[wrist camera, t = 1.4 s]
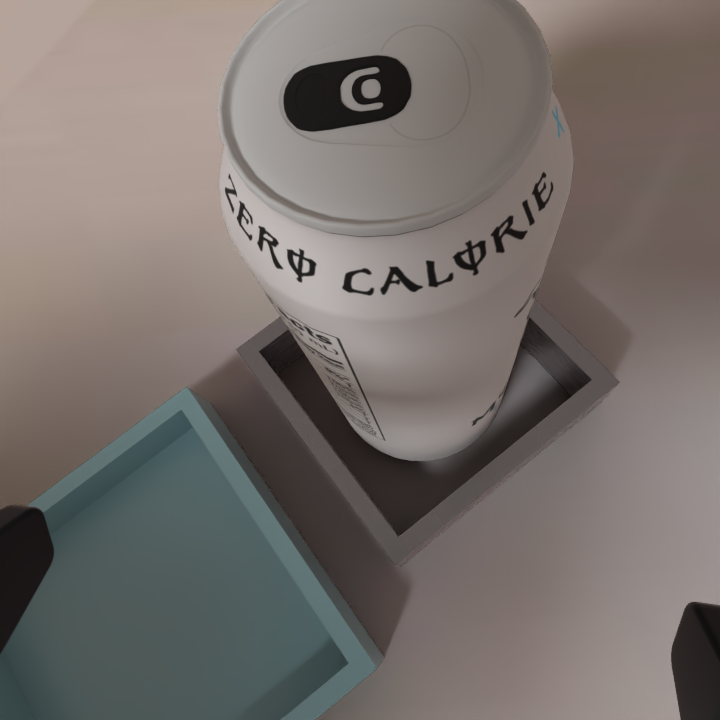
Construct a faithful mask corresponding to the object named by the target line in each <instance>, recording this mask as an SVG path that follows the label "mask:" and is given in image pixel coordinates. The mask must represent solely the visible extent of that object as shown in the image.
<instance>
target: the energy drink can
mask: <svg viewBox="0 0 720 720" xmlns="http://www.w3.org/2000/svg"><path fill="white" fill-rule="evenodd" d="M552 85H553V77H552V68H551V59H550V54H549V51H548V49H547V46H546V43H545V41H544V38H543V36H542V33H541V31H540V29H539V28H538V26H537V25H536V23H535V22H534V20H533V19H532V18H531V16H530V15H529V13H528V12H527V11H526V9H525V8H524V7H523V6H522V5H521V4H520V3H519V2H517V1H516V0H281V1H279V2H278V3H277V4H276V5H274V6H273V7H272V8H271V9H269V10H268V11H267V12H266V13H265V14H263V15H262V16H261V17H260V18H259V19H258V21H257V22H256V23H255V24H254V25H253V26H252V27H251V29H250V30H249V31H248V32H247V33H246V34H245V35H244V36H243V38H242V40H241V41H240V43H239V45H238V46H237V48H236V50H235V51H234V53H233V55H232V56H231V58H230V59H229V62H228V65H227V68H226V71H225V73H224V76H223V79H222V82H221V85H220V93H219V101H218V109H217V112H218V121H219V130H220V136H221V139H222V142H223V144H224V149H223V153H222V161H221V169H220V178H219V193H220V202H221V211H222V216H223V219H224V221H225V224H226V227H227V230H228V233H229V235H230V238H231V241H232V243H233V244H234V246H235V247H236V249H237V250H238V252H239V253H240V255H241V256H242V258H243V260H244V261H245V263H246V264H247V266H248V267H249V269H250V270H251V272H252V273H253V275H254V276H255V278H256V280H257V281H258V283H259V284H260V286H261V287H262V289H263V290H264V292H265V293H266V295H267V297H268V298H269V300H270V301H271V303H272V304H273V306H274V307H275V309H276V310H277V312H278V313H279V315H280V317H281V318H282V320H283V321H284V323H285V324H286V326H287V327H288V329H289V330H290V332H291V333H292V335H293V337H294V338H295V340H296V341H297V343H298V344H299V346H300V347H301V349H302V350H303V352H304V354H305V355H306V357H307V358H308V360H309V361H310V363H311V364H312V366H313V367H314V369H315V370H316V372H317V374H318V375H319V377H320V378H321V380H322V381H323V383H324V384H325V386H326V387H327V389H328V391H329V392H330V394H331V395H332V397H333V398H334V400H335V401H336V403H337V404H338V406H339V407H340V409H341V411H342V412H343V414H344V415H345V417H346V418H347V420H348V421H349V423H350V424H351V426H352V427H353V429H354V430H355V432H356V433H357V434H358V435H359V436H360V437H361V438H362V439H363V440H364V441H365V442H366V443H368V444H369V445H371V446H372V447H374V448H375V449H377V450H378V451H380V452H382V453H385V454H387V455H390V456H392V457H395V458H399V459H404V460H409V461H431V460H436V459H441V458H446V457H448V456H451V455H453V454H455V453H458V452H460V451H462V450H464V449H465V448H467V447H468V446H470V445H471V444H472V443H474V442H475V441H476V440H477V439H478V438H479V437H480V436H481V435H482V434H483V433H484V432H485V431H486V430H487V429H488V427H489V426H490V424H491V423H492V421H493V420H494V418H495V416H496V414H497V412H498V409H499V406H500V404H501V401H502V398H503V395H504V392H505V389H506V386H507V383H508V380H509V377H510V374H511V371H512V368H513V365H514V362H515V359H516V355H517V352H518V349H519V346H520V343H521V340H522V337H523V334H524V331H525V328H526V325H527V322H528V319H529V316H530V313H531V310H532V307H533V304H534V301H535V298H536V295H537V292H538V289H539V286H540V283H541V280H542V277H543V274H544V271H545V268H546V264H547V261H548V258H549V255H550V252H551V249H552V246H553V243H554V240H555V237H556V234H557V231H558V228H559V225H560V222H561V219H562V216H563V213H564V210H565V207H566V204H567V201H568V198H569V195H570V190H571V182H572V174H573V166H574V157H573V149H572V140H571V132H570V129H569V127H568V124H567V122H566V119H565V116H564V114H563V111H562V108H561V106H560V103H559V101H558V99H557V97H556V95H555V94H554V92H553V90H552Z"/></svg>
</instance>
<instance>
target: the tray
mask: <svg viewBox="0 0 720 720" xmlns="http://www.w3.org/2000/svg"><path fill="white" fill-rule="evenodd" d="M27 506H32V507H37V508H39V509H40V510H41V511H42V512H43V513H44V516H45V519H46V522H47V526H48V529H49V532H50V536H51V539H52V542H53V546H54V557H53V561H52V564H51V566H50V568H49V570H48V571H47V573H46V575H45V577H44V579H43V580H42V582H41V584H40V586H39V587H38V589H37V591H36V593H35V595H34V596H33V598H32V600H31V602H30V603H29V605H28V607H27V609H26V611H25V612H24V614H23V616H22V618H21V619H20V621H19V623H18V625H17V626H16V628H15V630H14V632H13V634H12V635H11V637H10V639H9V641H8V642H7V644H6V646H5V648H4V649H3V651H2V653H1V654H0V720H316V719H317V718H318V717H319V716H321V715H322V714H323V713H324V712H325V711H327V710H328V709H329V708H330V707H331V706H333V705H334V704H335V703H336V702H337V701H339V700H340V699H341V698H342V697H343V696H345V695H346V694H347V693H348V692H349V691H350V690H352V689H353V688H354V687H355V686H356V685H358V684H359V683H360V682H361V681H362V680H364V679H365V678H366V677H367V676H368V675H370V674H371V673H372V672H373V671H374V670H376V669H377V668H378V666H379V665H380V663H381V662H382V660H383V659H384V656H383V655H382V653H381V652H380V650H379V649H378V647H377V646H376V645H375V643H374V642H373V640H372V639H371V637H370V636H369V634H368V633H367V631H366V630H365V628H364V627H363V626H362V624H361V623H360V621H359V620H358V618H357V617H356V615H355V614H354V612H353V611H352V609H351V608H350V607H349V605H348V604H347V602H346V601H345V599H344V598H343V596H342V595H341V593H340V592H339V590H338V589H337V588H336V586H335V585H334V583H333V582H332V580H331V579H330V577H329V576H328V574H327V573H326V571H325V570H324V569H323V567H322V566H321V564H320V563H319V561H318V560H317V558H316V557H315V555H314V554H313V552H312V551H311V549H310V548H309V547H308V545H307V544H306V542H305V541H304V539H303V538H302V536H301V535H300V533H299V532H298V530H297V529H296V528H295V526H294V525H293V523H292V522H291V520H290V519H289V517H288V516H287V514H286V513H285V511H284V510H283V509H282V507H281V506H280V504H279V503H278V501H277V500H276V498H275V497H274V495H273V494H272V492H271V491H270V490H269V488H268V487H267V485H266V484H265V482H264V481H263V479H262V478H261V476H260V475H259V473H258V472H257V471H256V469H255V468H254V466H253V465H252V463H251V462H250V460H249V459H248V457H247V456H246V454H245V453H244V452H243V450H242V449H241V447H240V446H239V444H238V443H237V441H236V440H235V438H234V437H233V435H232V434H231V432H230V431H229V430H228V428H227V427H226V425H225V424H224V422H223V421H222V419H221V418H220V416H219V415H218V413H217V412H216V411H215V409H214V408H213V406H212V405H211V403H209V402H208V401H207V400H205V399H204V398H202V397H201V396H200V395H198V394H197V393H195V392H194V391H193V390H191V389H190V388H188V387H185V388H184V389H183V390H181V391H180V392H179V393H177V394H176V395H175V396H173V397H172V398H171V399H169V400H168V401H167V402H165V403H164V404H163V405H161V406H160V407H159V408H157V409H156V410H155V411H153V412H152V413H150V414H149V415H148V416H146V417H145V418H144V419H142V420H141V421H140V422H138V423H137V424H136V425H134V426H133V427H132V428H130V429H129V430H128V431H126V432H125V433H124V434H122V435H121V436H120V437H118V438H117V439H116V440H114V441H113V442H112V443H110V444H109V445H107V446H106V447H105V448H103V449H102V450H101V451H99V452H98V453H97V454H95V455H94V456H93V457H91V458H90V459H89V460H87V461H86V462H85V463H83V464H82V465H81V466H79V467H78V468H77V469H75V470H74V471H73V472H71V473H70V474H69V475H67V476H66V477H64V478H63V479H62V480H60V481H59V482H58V483H56V484H55V485H54V486H52V487H51V488H50V489H48V490H47V491H46V492H44V493H43V494H42V495H40V496H39V497H38V498H36V499H35V500H34V501H32V502H31V503H30V504H28V505H27Z"/></svg>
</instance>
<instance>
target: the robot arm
mask: <svg viewBox="0 0 720 720" xmlns="http://www.w3.org/2000/svg"><path fill="white" fill-rule="evenodd" d="M53 557H54V546H53V542H52V539H51V536H50V532H49V529H48V526H47V522H46V519H45V516H44V513H43V512H42V511H41V510H40V509H39V508H37V507H32V506H25V505H10V506H7V507H5V508H3V509H1V510H0V654H1V653H2V651H3V649H4V648H5V646H6V644H7V642H8V641H9V639H10V637H11V635H12V634H13V632H14V630H15V628H16V626H17V625H18V623H19V621H20V619H21V618H22V616H23V614H24V612H25V611H26V609H27V607H28V605H29V603H30V602H31V600H32V598H33V596H34V595H35V593H36V591H37V589H38V587H39V586H40V584H41V582H42V580H43V579H44V577H45V575H46V573H47V571H48V570H49V568H50V566H51V564H52V561H53ZM671 662H672V670H673V676H674V682H675V688H676V694H677V700H678V706H679V712H680V718H681V720H720V605H715V604H708V603H701V602H691V603H689V604H688V605H687V606H686V608H685V610H684V612H683V615H682V618H681V621H680V624H679V627H678V630H677V633H676V636H675V639H674V642H673V645H672V651H671Z"/></svg>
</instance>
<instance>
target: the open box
mask: <svg viewBox="0 0 720 720" xmlns="http://www.w3.org/2000/svg"><path fill="white" fill-rule="evenodd" d="M521 344H522V345H523V346H524V347H525V348H526V349H527V350H528V351H529V352H530V353H531V355H532V356H533V357H534V358H535V359H536V360H537V361H538V362H539V363H540V364H541V365H542V366H543V367H544V368H545V369H546V370H547V371H548V372H549V373H550V374H551V375H552V376H553V377H554V378H555V379H556V380H557V381H558V382H559V383H560V384H561V385H562V387H563V388H564V389H565V390H566V391H567V392H568V393H569V394H570V395H571V396H572V397H570V398H569V399H568V400H567V401H565V402H564V403H563V404H562V405H560V406H559V407H558V408H557V409H556V410H554V411H553V412H552V413H551V414H549V415H548V416H547V417H546V418H544V419H543V420H542V421H541V422H539V423H538V424H537V425H536V426H535V427H533V428H532V429H531V430H530V431H528V432H527V433H526V434H525V435H523V436H522V437H521V438H520V439H519V440H517V441H516V442H515V443H514V444H512V445H511V446H510V447H509V448H507V449H506V450H505V451H504V452H503V453H501V454H500V455H499V456H498V457H496V458H495V459H494V460H493V461H491V462H490V463H489V464H488V465H486V466H485V467H484V468H483V469H482V470H480V471H479V472H478V473H477V474H475V475H474V476H473V477H472V478H470V479H469V480H468V481H467V482H466V483H464V484H463V485H462V486H461V487H459V488H458V489H457V490H456V491H454V492H453V493H452V494H451V495H450V496H448V497H447V498H446V499H445V500H443V501H442V502H441V503H440V504H438V505H437V506H436V507H435V508H433V509H432V510H431V511H430V512H429V513H427V514H426V515H425V516H424V517H422V518H421V519H420V520H419V521H417V522H416V523H415V524H414V525H413V526H411V527H410V528H409V529H408V530H406V531H405V532H404V533H403V534H401V535H399V534H398V533H397V531H396V530H395V529H394V527H393V526H392V525H391V523H390V522H389V521H388V519H387V518H386V517H385V516H384V514H383V513H382V512H381V510H380V509H379V508H378V506H377V505H376V504H375V502H374V501H373V500H372V498H371V497H370V496H369V494H368V493H367V492H366V490H365V489H364V488H363V486H362V485H361V484H360V482H359V481H358V480H357V478H356V477H355V476H354V474H353V473H352V472H351V470H350V469H349V468H348V466H347V465H346V464H345V462H344V461H343V460H342V458H341V457H340V456H339V454H338V453H337V452H336V450H335V449H334V448H333V446H332V445H331V444H330V442H329V441H328V440H327V438H326V437H325V436H324V434H323V433H322V432H321V431H320V429H319V428H318V427H317V425H316V424H315V423H314V421H313V420H312V419H311V417H310V416H309V415H308V413H307V412H306V411H305V409H304V408H303V407H302V405H301V404H300V403H299V401H298V400H297V399H296V397H295V396H294V395H293V393H292V392H291V391H290V389H289V388H288V387H287V385H286V384H285V383H284V381H283V380H282V379H281V377H280V376H279V375H278V372H280V371H281V370H282V369H284V368H285V367H286V366H288V365H289V364H290V363H292V362H293V361H294V360H296V359H297V358H298V357H300V356H301V355H302V354H303V353H304V352H303V350H302V349H301V347H300V346H299V344H298V343H297V341H296V340H295V338H294V337H293V335H292V333H291V332H290V330H289V329H288V327H287V326H286V324H285V323H284V321H283V320H282V318H281V317H279V318H278V319H277V320H275V321H274V322H272V323H271V324H270V325H268V326H267V327H266V328H264V329H263V330H262V331H260V332H259V333H258V334H256V335H255V336H254V337H252V338H251V339H250V340H248V341H247V342H246V343H244V344H243V345H242V346H240V347H239V348H238V349H236V350H237V351H238V353H239V354H240V355H241V357H242V358H243V359H244V361H245V362H246V363H247V365H248V366H249V368H250V369H251V370H252V372H253V373H254V374H255V376H256V377H257V378H258V380H259V381H260V383H261V384H262V385H263V387H264V388H265V389H266V391H267V392H268V393H269V395H270V396H271V398H272V399H273V400H274V402H275V403H276V404H277V406H278V407H279V408H280V410H281V411H282V412H283V414H284V415H285V417H286V418H287V419H288V421H289V422H290V423H291V425H292V426H293V427H294V429H295V430H296V432H297V433H298V434H299V436H300V437H301V438H302V440H303V441H304V442H305V444H306V445H307V447H308V448H309V449H310V451H311V452H312V453H313V455H314V456H315V457H316V459H317V460H318V462H319V463H320V464H321V466H322V467H323V468H324V470H325V471H326V472H327V474H328V475H329V476H330V478H331V479H332V481H333V482H334V483H335V485H336V486H337V487H338V489H339V490H340V491H341V493H342V494H343V496H344V497H345V498H346V500H347V501H348V502H349V504H350V505H351V506H352V508H353V509H354V511H355V512H356V513H357V515H358V516H359V517H360V519H361V520H362V521H363V523H364V524H365V526H366V527H367V528H368V530H369V531H370V532H371V534H372V535H373V536H374V538H375V539H376V541H377V542H378V543H379V545H380V546H381V547H382V549H383V550H384V551H385V553H386V554H387V555H388V557H389V558H390V560H391V561H392V562H393V564H394V565H395V566H402V565H403V564H404V563H406V562H407V561H408V560H409V559H410V558H412V557H413V556H414V555H415V554H417V553H418V552H419V551H420V550H421V549H423V548H424V547H425V546H426V545H428V544H429V543H430V542H431V541H432V540H434V539H435V538H436V537H437V536H439V535H440V534H441V533H442V532H443V531H445V530H446V529H447V528H448V527H450V526H451V525H452V524H453V523H454V522H456V521H457V520H458V519H459V518H461V517H462V516H463V515H464V514H465V513H467V512H468V511H469V510H470V509H472V508H473V507H474V506H475V505H476V504H478V503H479V502H480V501H481V500H483V499H484V498H485V497H486V496H487V495H489V494H490V493H491V492H492V491H494V490H495V489H496V488H497V487H498V486H500V485H501V484H502V483H503V482H505V481H506V480H507V479H508V478H509V477H511V476H512V475H513V474H514V473H516V472H517V471H518V470H519V469H520V468H522V467H523V466H524V465H525V464H527V463H528V462H529V461H530V460H531V459H533V458H534V457H535V456H536V455H538V454H539V453H540V452H541V451H542V450H544V449H545V448H546V447H547V446H549V445H550V444H551V443H552V442H553V441H555V440H556V439H557V438H558V437H560V436H561V435H562V434H563V433H564V432H566V431H567V430H568V429H569V428H571V427H572V426H573V425H574V424H575V423H577V422H578V421H579V420H580V419H582V418H583V417H584V416H585V415H586V414H588V413H589V412H590V411H591V410H593V409H594V408H595V407H596V406H597V405H599V404H600V403H601V402H602V401H603V400H604V399H605V398H606V397H607V396H608V394H609V393H610V392H611V391H612V390H613V389H614V388H615V387H616V386H617V385H618V384H619V383H620V382H619V381H618V380H617V379H616V378H615V377H614V376H613V375H612V374H611V373H610V372H609V371H608V370H607V369H606V368H605V367H604V366H603V365H602V364H601V363H600V362H599V361H598V360H597V359H596V358H595V357H594V356H593V355H592V354H591V353H590V352H589V351H588V350H586V349H585V348H584V347H583V346H582V345H581V344H580V343H579V342H578V341H577V340H576V339H575V338H574V337H573V336H572V335H571V334H570V333H569V332H568V331H567V330H566V329H565V328H564V327H563V326H562V325H561V324H560V323H559V322H558V321H557V320H556V319H555V318H554V317H553V316H552V315H551V314H550V313H549V312H548V311H547V310H546V309H545V308H544V307H543V306H542V305H541V304H540V303H539V302H538V301H537V300H536V299H535V301H534V304H533V307H532V310H531V313H530V316H529V319H528V322H527V325H526V328H525V331H524V334H523V337H522V340H521Z"/></svg>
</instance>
